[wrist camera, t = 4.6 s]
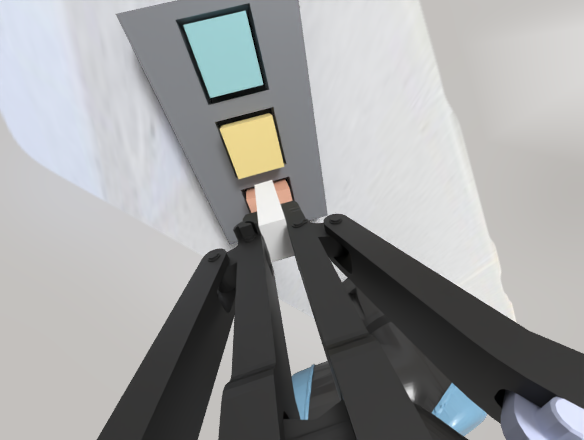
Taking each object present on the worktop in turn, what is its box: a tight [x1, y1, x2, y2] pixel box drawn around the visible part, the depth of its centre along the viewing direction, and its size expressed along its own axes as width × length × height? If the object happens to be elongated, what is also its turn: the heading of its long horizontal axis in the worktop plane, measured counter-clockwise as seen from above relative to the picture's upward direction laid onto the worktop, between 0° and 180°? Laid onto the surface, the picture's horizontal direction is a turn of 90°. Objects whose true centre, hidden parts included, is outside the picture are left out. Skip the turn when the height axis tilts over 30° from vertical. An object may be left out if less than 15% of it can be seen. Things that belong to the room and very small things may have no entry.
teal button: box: [183, 11, 263, 98], centre depth 19 cm, size 5×5×3 cm
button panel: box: [116, 0, 327, 244], centre depth 23 cm, size 23×14×3 cm, turn 12°
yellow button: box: [220, 113, 284, 179], centre depth 22 cm, size 5×5×3 cm
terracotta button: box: [246, 179, 292, 213], centre depth 26 cm, size 5×5×3 cm
